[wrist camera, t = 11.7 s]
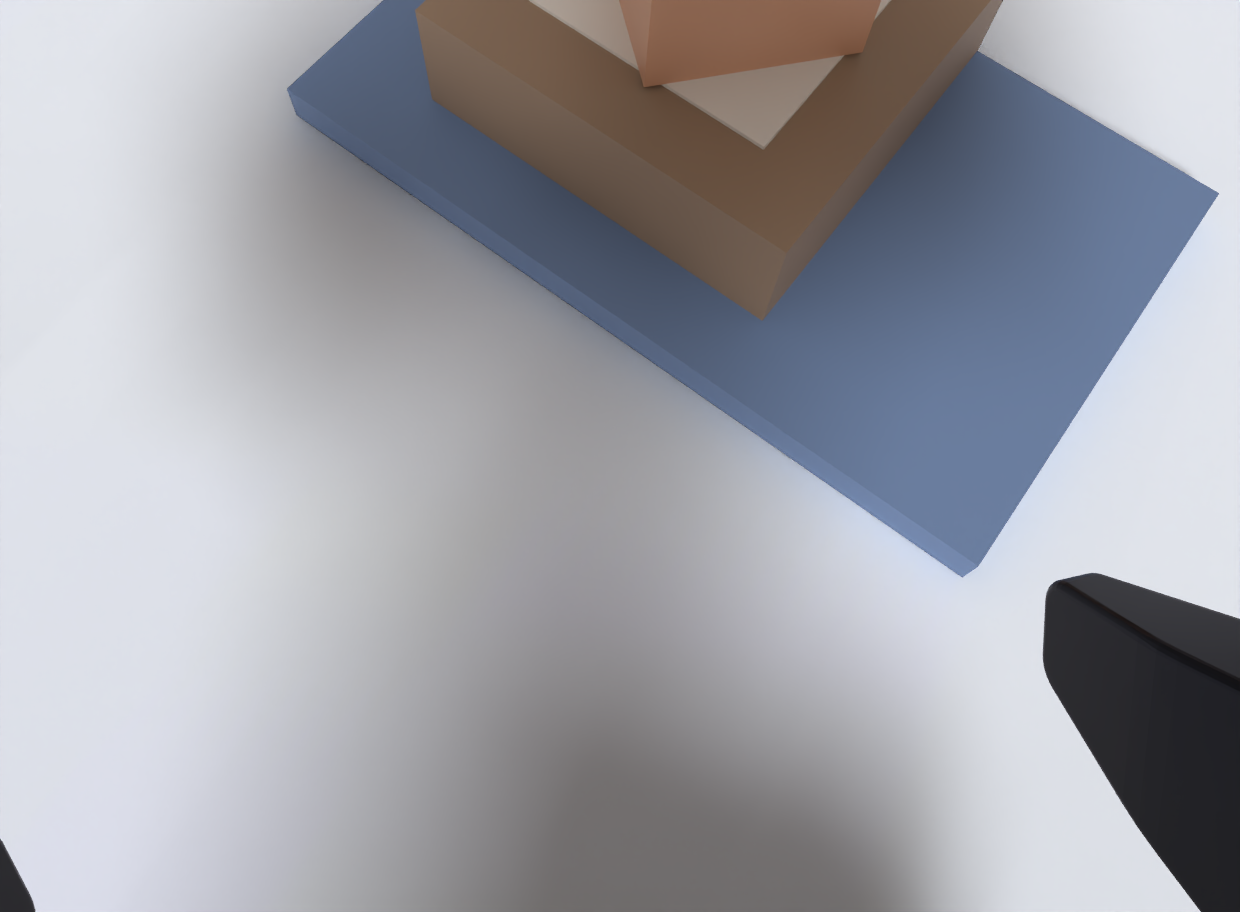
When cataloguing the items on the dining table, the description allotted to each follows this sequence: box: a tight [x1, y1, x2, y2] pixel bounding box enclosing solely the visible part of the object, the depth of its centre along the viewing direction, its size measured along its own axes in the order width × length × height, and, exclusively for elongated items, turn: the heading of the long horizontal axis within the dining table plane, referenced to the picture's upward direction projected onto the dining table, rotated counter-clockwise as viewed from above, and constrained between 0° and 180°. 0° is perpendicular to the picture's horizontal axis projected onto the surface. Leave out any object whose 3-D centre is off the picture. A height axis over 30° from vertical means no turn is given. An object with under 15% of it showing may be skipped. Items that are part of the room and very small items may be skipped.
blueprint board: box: [287, 0, 1219, 577], centre depth 25 cm, size 20×12×4 cm, turn 53°
